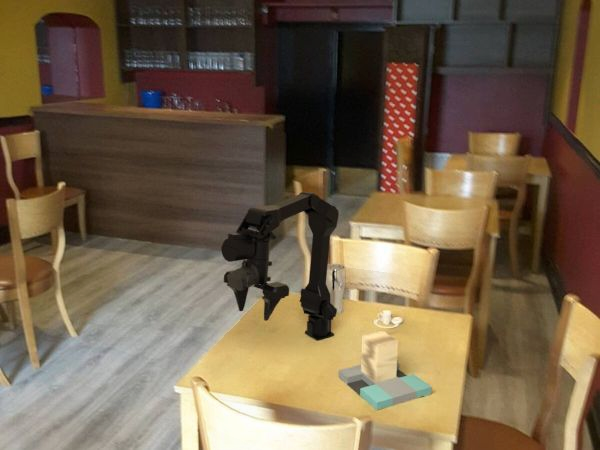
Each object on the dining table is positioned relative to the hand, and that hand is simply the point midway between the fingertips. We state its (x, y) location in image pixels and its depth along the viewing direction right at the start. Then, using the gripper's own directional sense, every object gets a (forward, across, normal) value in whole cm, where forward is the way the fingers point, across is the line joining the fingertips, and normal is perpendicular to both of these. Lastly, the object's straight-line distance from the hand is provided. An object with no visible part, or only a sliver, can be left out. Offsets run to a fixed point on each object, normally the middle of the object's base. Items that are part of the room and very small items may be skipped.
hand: (253, 315), depth 162 cm
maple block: (+11, +29, +17) cm, 35 cm away
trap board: (+13, +31, +17) cm, 38 cm away
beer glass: (+9, -8, +46) cm, 48 cm away
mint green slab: (+13, +36, +15) cm, 41 cm away
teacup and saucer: (+10, +13, +48) cm, 51 cm away
